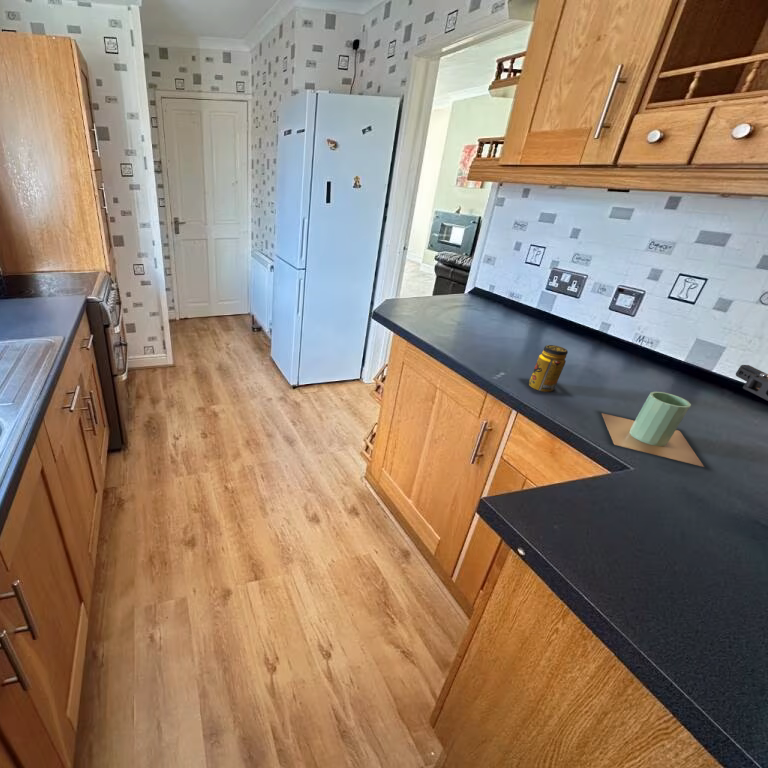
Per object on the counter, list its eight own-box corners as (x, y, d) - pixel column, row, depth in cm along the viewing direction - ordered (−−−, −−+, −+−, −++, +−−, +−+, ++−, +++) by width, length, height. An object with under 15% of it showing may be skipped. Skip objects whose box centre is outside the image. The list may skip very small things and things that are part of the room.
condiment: (521, 381, 117) (536, 342, 111) (552, 383, 116) (569, 344, 111) (534, 394, 110) (550, 353, 105) (567, 396, 110) (585, 355, 104)
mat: (678, 432, 96) (679, 430, 96) (703, 468, 84) (704, 467, 84) (600, 414, 102) (601, 413, 102) (613, 446, 90) (614, 444, 90)
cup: (661, 434, 94) (684, 396, 89) (671, 449, 89) (695, 410, 84) (626, 426, 97) (646, 388, 92) (632, 440, 92) (654, 401, 87)
